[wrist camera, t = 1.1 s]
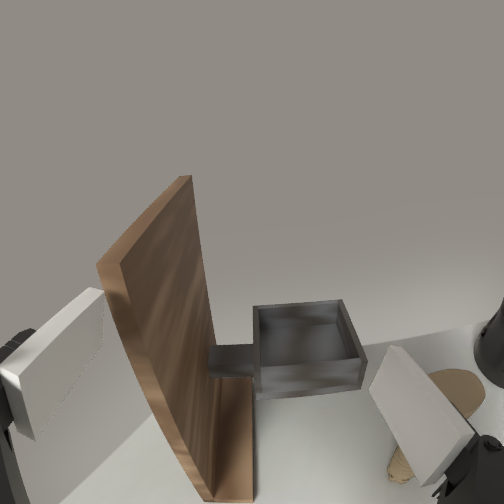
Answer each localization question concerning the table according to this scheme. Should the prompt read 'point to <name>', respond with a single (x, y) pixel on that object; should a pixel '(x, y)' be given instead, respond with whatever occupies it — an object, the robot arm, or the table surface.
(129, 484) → the table surface
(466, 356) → the table surface
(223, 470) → the bracket
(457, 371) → the handle
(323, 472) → the table surface
